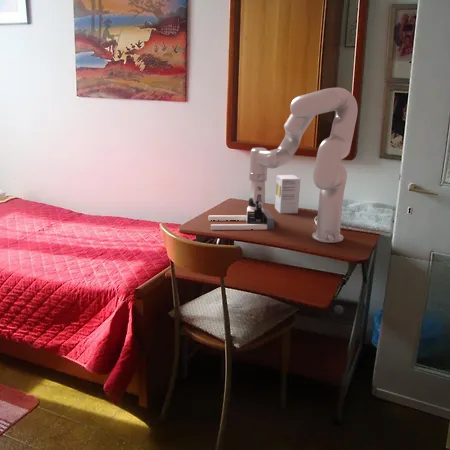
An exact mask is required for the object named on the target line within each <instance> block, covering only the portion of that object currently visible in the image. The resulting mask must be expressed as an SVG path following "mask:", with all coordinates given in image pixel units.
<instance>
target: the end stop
mask: <svg viewBox="0 0 450 450" xmlns="http://www.w3.org/2000/svg"><path fill="white" fill-rule="evenodd" d="M263 209H264V221H263V224H267V229H266V230H275V217H274V215H273V214H272V212H271V211H270V210H269V209H268V208H263Z"/></svg>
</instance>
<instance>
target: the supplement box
mask: <svg viewBox="0 0 450 450" xmlns="http://www.w3.org/2000/svg"><path fill="white" fill-rule="evenodd" d="M300 188H301V178H300V177H299V176H298V177H297V175H295V174H276V184H275V198H274V200H275V201H274V209H275V210H276V211H277V212H278V214H298V213H299V204H300V190H301V189H300Z"/></svg>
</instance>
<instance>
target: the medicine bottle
mask: <svg viewBox="0 0 450 450" xmlns="http://www.w3.org/2000/svg"><path fill="white" fill-rule="evenodd" d="M257 198H258V197H257ZM256 203H258V202H256ZM263 205H264V204H263V203H262V218H261V219H254V210H255V204H254V203H253V199H252V198H251V197H250V198H249V199H248V206H247V207H246V215H247V220H246V224H263V221H264V209H265V208H264V207H263Z"/></svg>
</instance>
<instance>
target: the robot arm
mask: <svg viewBox="0 0 450 450" xmlns="http://www.w3.org/2000/svg"><path fill="white" fill-rule="evenodd" d="M289 108H290V109H289V111H290V114H289V116H288V118H287V119H286V122H285V123H284V124H283V130H284V131H285V133H284V137H283V139H282V140H281V142H280V144H279V146H278V147H277V148H274V149H271V150H268V149H267V148H265V147H252V148H251V149H250V157H249V176H248V177H249V178H248V179H249V181H250V182H251V186H250V198H252V199H253V203H254V204H255V210H254V219H261V218H262V203H263V205H265V204H266V182H267V181H268V169H277V168H280V167H283V166H285V165H288V163H289V162H290V161H291V159H292V158H293V157H294V155H295V153H297V150H298V149H299V146H300V143H301V140H302V137H303V135H304V133H305V132H306V130H307V129H308V127H309V126H310V124H311V122H312V121H313V119H314V118H315V116H317V115H320V114H326V113H329V112H335V116H334V118H333V120H332V125H331V129H330V130H331V131H330V135H329V137H326V138H325V139H323V140H322V141H321V143H320V144H319V146H318V150H317V153H316V158H315V159H316V160H315V163H314V169H313V174H312V178H313V179H312V180H313V182H314V185H315V186H316V188H318V189H320V190H319V194H318V196H319V197H318V206H317V217H316V231H315V232H313V233H312V235H311V238H312V239H314V240H315V241H317V242H321V243H329V244H330V243H332V244H334V243H336V244H337V243H340V242H342V241H343V240H344V236H343V235H342V233H341V223H342V215H343V213H342V212H343V204H344V194H345V187H346V184H347V179H348V172H347V171H348V170H347V168H346V166H345V165H344V164H343V163H342V162H341V161H342V160H343V159H345V158H346V157H347V156H349V154H350V151H351V147H352V141H353V138H354V133H355V127H356V122H357V117H358V109H359V108H358V103H357V100H356V98H355V96H354V95H353V94H352V93H351V91H348V90H347V89H345V88H343V87H329V88H327V87H326V88H324V89H319V90H317V91H313V92H310V93H306V94H301V95H298V96H295V97H294V98H293V100H291V103H290V106H289ZM257 197H258V198H257ZM256 202H258V203H256Z"/></svg>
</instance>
